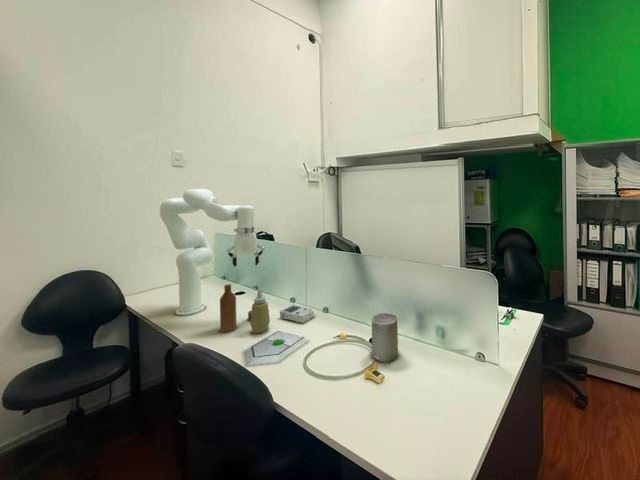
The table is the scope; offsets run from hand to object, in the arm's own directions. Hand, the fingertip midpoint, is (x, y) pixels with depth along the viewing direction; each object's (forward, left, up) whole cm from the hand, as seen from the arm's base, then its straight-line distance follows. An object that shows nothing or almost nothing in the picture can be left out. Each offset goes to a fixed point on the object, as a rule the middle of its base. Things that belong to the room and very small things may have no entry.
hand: (246, 265), depth 146 cm
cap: (+4, +3, -25) cm, 26 cm away
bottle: (+12, -6, -25) cm, 29 cm away
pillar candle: (+54, +55, -26) cm, 81 cm away
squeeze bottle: (+18, +8, -26) cm, 32 cm away
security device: (+37, +14, -26) cm, 47 cm away
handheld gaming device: (+9, +24, -26) cm, 36 cm away
